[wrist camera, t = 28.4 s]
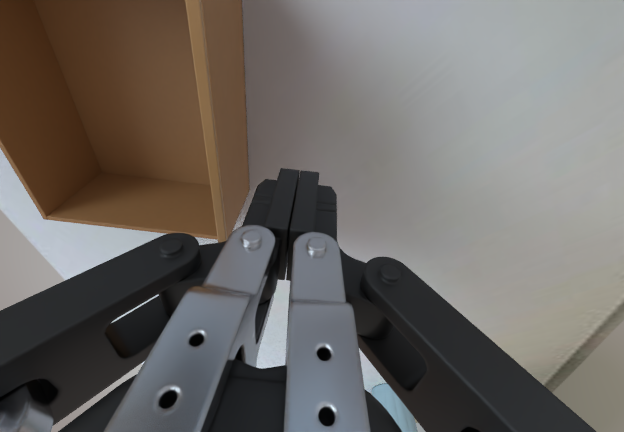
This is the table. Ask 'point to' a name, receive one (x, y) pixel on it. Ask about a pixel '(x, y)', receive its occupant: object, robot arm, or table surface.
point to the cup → (395, 407)
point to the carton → (122, 111)
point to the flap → (206, 110)
